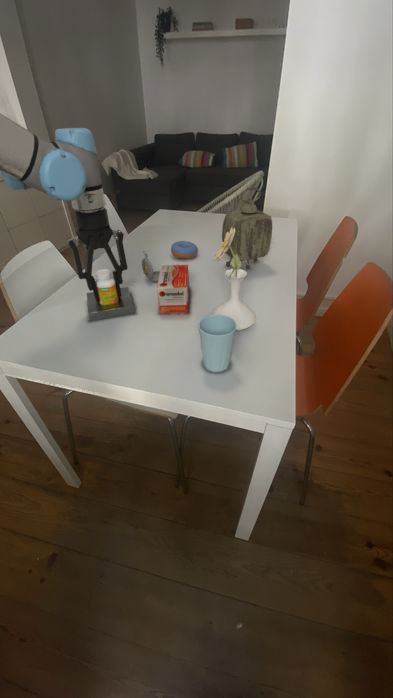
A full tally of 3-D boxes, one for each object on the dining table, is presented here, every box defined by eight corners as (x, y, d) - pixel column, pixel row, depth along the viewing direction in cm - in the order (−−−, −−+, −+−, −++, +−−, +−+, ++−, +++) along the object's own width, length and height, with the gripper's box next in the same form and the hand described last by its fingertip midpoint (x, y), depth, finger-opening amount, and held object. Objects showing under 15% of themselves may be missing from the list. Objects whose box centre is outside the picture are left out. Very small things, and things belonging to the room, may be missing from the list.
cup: (228, 350, 73) (230, 312, 67) (238, 372, 67) (241, 332, 61) (196, 355, 72) (195, 316, 66) (203, 378, 66) (202, 337, 60)
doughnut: (202, 253, 120) (202, 241, 118) (188, 262, 114) (187, 250, 111) (181, 249, 125) (180, 237, 122) (166, 257, 118) (165, 245, 115)
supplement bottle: (102, 311, 87) (95, 278, 81) (97, 302, 91) (90, 270, 85) (121, 306, 89) (115, 273, 83) (116, 298, 92) (110, 266, 86)
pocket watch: (172, 275, 106) (170, 246, 99) (159, 286, 100) (156, 255, 93) (151, 272, 108) (147, 242, 102) (137, 282, 102) (133, 252, 96)
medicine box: (163, 288, 98) (161, 264, 94) (189, 288, 98) (188, 263, 93) (159, 314, 87) (156, 288, 82) (188, 313, 86) (187, 287, 82)
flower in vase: (221, 307, 89) (225, 213, 73) (261, 316, 85) (273, 219, 69) (200, 331, 80) (199, 230, 64) (243, 343, 76) (252, 238, 60)
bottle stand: (90, 321, 84) (88, 313, 83) (88, 300, 93) (86, 292, 92) (134, 313, 87) (133, 305, 86) (128, 294, 96) (127, 286, 94)
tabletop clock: (257, 258, 115) (265, 182, 100) (270, 268, 109) (281, 188, 93) (220, 265, 112) (223, 187, 96) (232, 275, 105) (236, 193, 90)
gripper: (50, 218, 68) (76, 311, 82) (132, 207, 75) (144, 295, 89) (46, 210, 73) (71, 299, 88) (123, 200, 80) (135, 284, 94)
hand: (108, 297), depth 88 cm, fingers closed on supplement bottle, 5 cm apart
